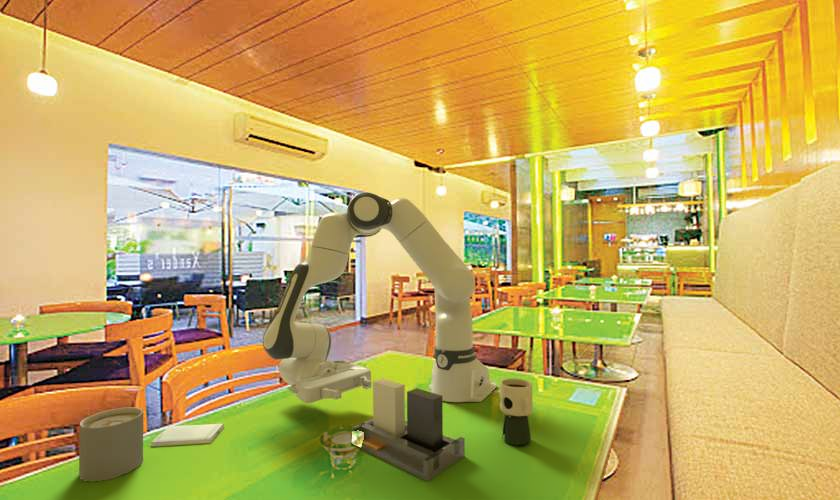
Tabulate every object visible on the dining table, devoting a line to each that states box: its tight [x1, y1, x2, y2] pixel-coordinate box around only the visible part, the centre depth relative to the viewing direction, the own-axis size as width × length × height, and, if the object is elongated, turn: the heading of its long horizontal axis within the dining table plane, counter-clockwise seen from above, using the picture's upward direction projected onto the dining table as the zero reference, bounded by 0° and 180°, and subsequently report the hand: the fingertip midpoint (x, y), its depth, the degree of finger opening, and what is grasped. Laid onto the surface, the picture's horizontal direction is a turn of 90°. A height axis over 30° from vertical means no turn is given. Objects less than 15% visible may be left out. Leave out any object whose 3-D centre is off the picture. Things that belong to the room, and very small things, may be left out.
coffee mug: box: [78, 406, 144, 482], centre depth 79 cm, size 13×10×10 cm
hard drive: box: [150, 423, 225, 447], centre depth 91 cm, size 2×8×12 cm
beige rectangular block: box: [372, 378, 406, 436], centre depth 88 cm, size 3×7×12 cm, turn 49°
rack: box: [350, 387, 466, 482], centre depth 84 cm, size 12×22×13 cm, turn 49°
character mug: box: [499, 377, 533, 446], centre depth 88 cm, size 11×7×13 cm, turn 14°
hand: (354, 390), depth 95 cm, fingers open, 8 cm apart
